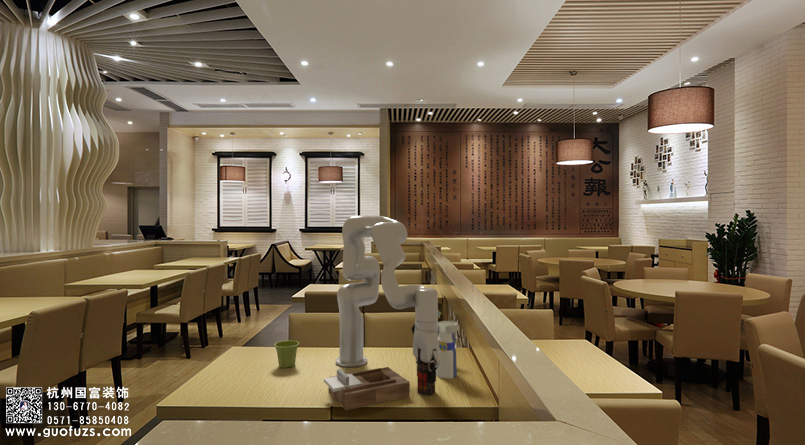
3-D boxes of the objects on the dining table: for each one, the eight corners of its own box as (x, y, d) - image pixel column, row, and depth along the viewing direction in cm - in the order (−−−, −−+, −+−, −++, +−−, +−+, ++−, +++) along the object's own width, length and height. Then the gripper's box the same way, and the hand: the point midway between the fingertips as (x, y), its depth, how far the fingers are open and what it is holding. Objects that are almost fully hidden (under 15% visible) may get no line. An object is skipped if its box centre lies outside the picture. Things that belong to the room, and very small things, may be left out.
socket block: (328, 392, 148) (328, 374, 148) (387, 380, 158) (387, 364, 158) (345, 410, 134) (345, 391, 134) (409, 397, 144) (409, 379, 144)
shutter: (323, 381, 144) (323, 370, 144) (351, 376, 148) (351, 366, 148) (333, 391, 135) (333, 380, 135) (362, 386, 140) (362, 375, 140)
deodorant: (416, 388, 151) (416, 345, 151) (433, 388, 152) (433, 344, 151) (418, 395, 145) (418, 350, 145) (436, 395, 146) (436, 349, 146)
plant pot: (269, 367, 172) (269, 345, 172) (284, 360, 180) (284, 339, 180) (289, 371, 168) (289, 348, 168) (303, 363, 177) (303, 341, 177)
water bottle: (452, 380, 159) (453, 311, 158) (431, 376, 163) (431, 308, 163) (462, 374, 166) (462, 307, 165) (441, 369, 170) (442, 304, 170)
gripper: (404, 321, 154) (404, 372, 154) (430, 332, 139) (430, 389, 139) (423, 318, 158) (422, 369, 158) (450, 329, 142) (450, 385, 143)
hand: (426, 378), depth 148 cm, fingers closed on deodorant, 5 cm apart
